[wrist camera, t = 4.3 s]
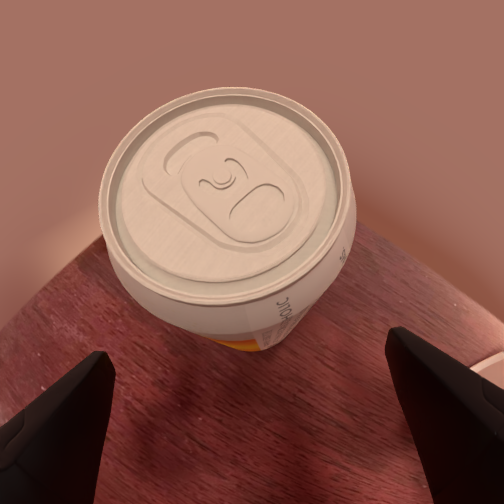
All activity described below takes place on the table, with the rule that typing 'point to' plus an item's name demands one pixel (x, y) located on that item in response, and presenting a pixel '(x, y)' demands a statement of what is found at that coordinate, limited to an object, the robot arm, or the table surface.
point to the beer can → (228, 214)
